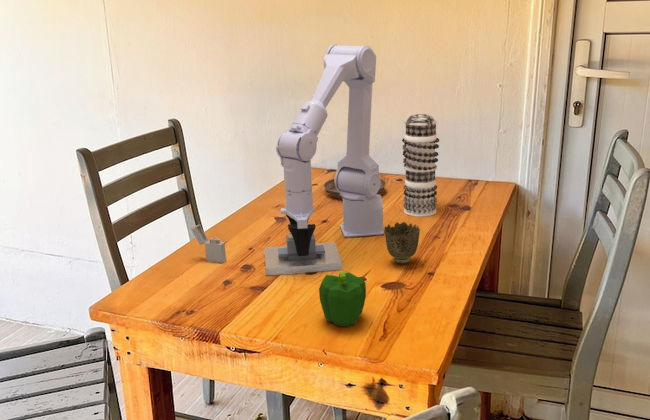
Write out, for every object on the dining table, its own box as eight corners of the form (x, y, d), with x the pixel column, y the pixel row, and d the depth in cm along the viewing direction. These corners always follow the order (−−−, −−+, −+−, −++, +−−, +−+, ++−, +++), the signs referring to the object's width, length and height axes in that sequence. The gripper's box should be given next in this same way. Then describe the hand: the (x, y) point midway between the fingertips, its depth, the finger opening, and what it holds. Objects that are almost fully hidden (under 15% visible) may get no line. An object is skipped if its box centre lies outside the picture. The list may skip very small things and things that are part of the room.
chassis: (335, 248, 154) (334, 242, 154) (342, 269, 143) (342, 262, 142) (264, 254, 153) (264, 247, 152) (266, 275, 141) (265, 268, 141)
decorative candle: (434, 218, 171) (436, 120, 163) (398, 215, 174) (398, 119, 166) (440, 207, 179) (442, 113, 171) (406, 204, 182) (406, 112, 174)
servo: (323, 255, 150) (322, 229, 148) (325, 262, 146) (324, 234, 144) (278, 259, 149) (276, 232, 147) (279, 265, 145) (277, 238, 143)
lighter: (226, 260, 150) (223, 226, 147) (222, 263, 149) (219, 228, 146) (198, 256, 152) (194, 223, 150) (194, 259, 151) (190, 226, 148)
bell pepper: (327, 307, 127) (325, 257, 124) (370, 311, 124) (369, 261, 121) (313, 328, 119) (311, 276, 116) (359, 333, 117) (358, 280, 114)
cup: (396, 272, 140) (396, 236, 138) (378, 260, 146) (377, 226, 144) (426, 265, 143) (427, 229, 141) (406, 253, 150) (406, 219, 147)
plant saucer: (314, 190, 198) (313, 180, 197) (367, 181, 205) (367, 171, 204) (340, 207, 183) (340, 196, 182) (397, 196, 190) (397, 186, 189)
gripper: (277, 180, 149) (281, 238, 153) (281, 200, 135) (284, 263, 139) (309, 178, 149) (312, 235, 154) (316, 197, 136) (319, 260, 140)
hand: (301, 248), depth 147 cm, fingers open, 7 cm apart
